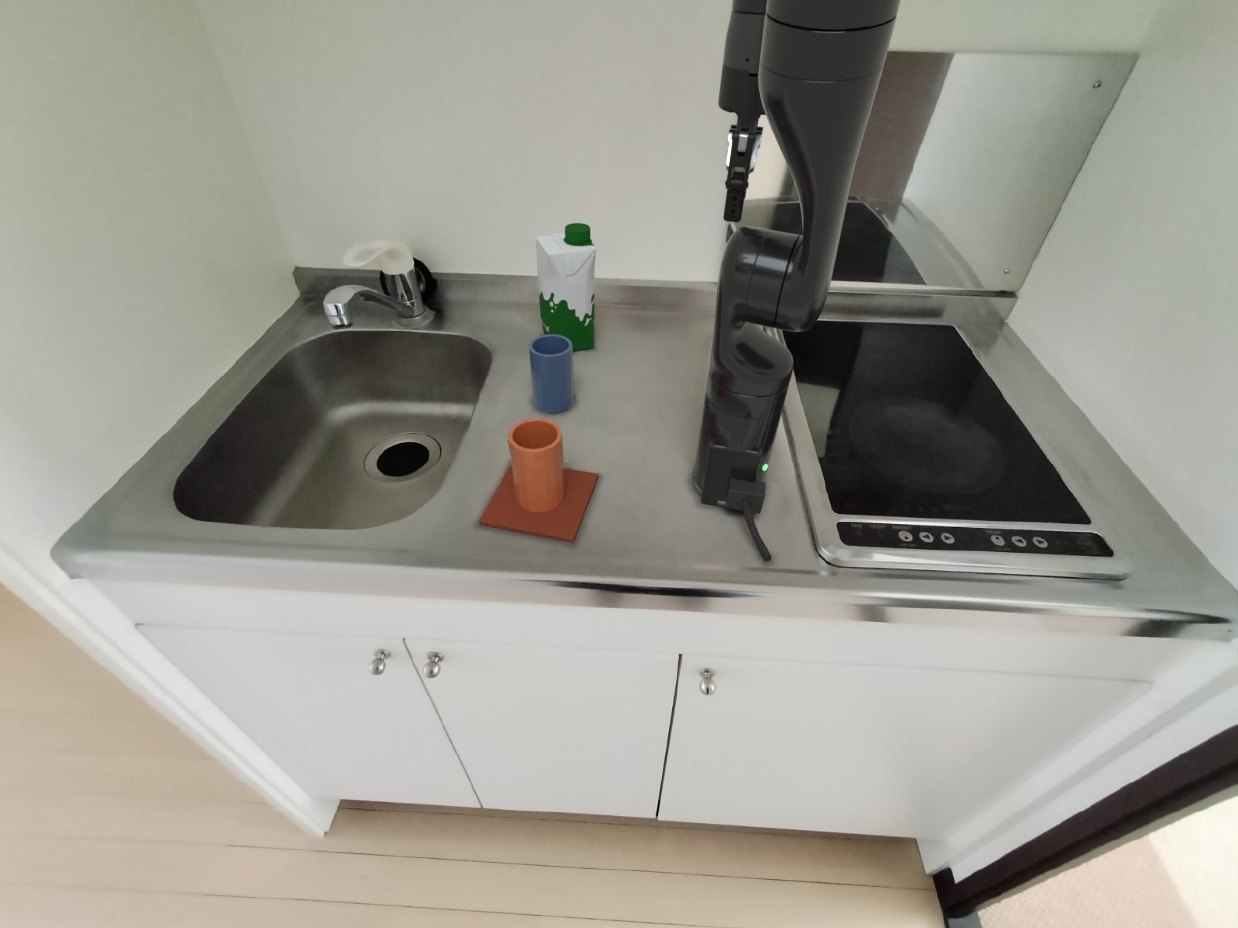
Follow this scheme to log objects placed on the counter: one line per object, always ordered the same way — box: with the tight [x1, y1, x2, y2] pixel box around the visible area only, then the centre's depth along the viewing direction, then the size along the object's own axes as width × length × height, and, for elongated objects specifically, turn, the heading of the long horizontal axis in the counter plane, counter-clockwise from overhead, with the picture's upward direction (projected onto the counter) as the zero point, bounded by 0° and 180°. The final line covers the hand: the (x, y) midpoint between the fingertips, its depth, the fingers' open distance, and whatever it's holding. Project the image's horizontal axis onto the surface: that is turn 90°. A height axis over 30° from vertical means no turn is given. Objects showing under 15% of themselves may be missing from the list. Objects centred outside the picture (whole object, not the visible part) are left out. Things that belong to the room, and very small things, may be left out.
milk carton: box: [535, 222, 597, 353], centre depth 100 cm, size 9×9×20 cm
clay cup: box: [507, 417, 565, 513], centre depth 73 cm, size 6×6×10 cm
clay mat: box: [478, 463, 599, 544], centre depth 77 cm, size 12×12×1 cm
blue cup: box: [528, 334, 575, 414], centre depth 90 cm, size 6×6×10 cm
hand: (734, 210), depth 78 cm, fingers open, 8 cm apart
